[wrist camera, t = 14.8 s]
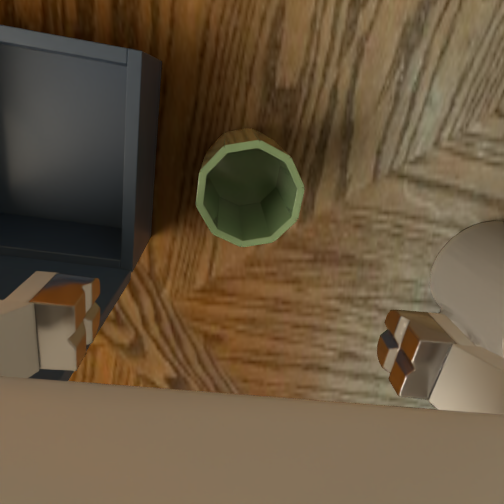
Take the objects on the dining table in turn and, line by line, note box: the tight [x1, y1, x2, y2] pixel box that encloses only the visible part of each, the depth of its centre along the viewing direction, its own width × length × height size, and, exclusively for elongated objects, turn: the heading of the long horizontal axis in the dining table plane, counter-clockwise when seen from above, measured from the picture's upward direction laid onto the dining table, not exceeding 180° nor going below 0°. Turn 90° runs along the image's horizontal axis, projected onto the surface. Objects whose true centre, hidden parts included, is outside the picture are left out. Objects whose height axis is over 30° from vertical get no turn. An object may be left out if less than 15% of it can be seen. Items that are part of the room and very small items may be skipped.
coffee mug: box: [430, 221, 504, 358], centre depth 31 cm, size 13×10×10 cm
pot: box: [196, 128, 305, 247], centre depth 26 cm, size 6×7×9 cm
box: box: [0, 25, 162, 272], centre depth 25 cm, size 14×15×7 cm
